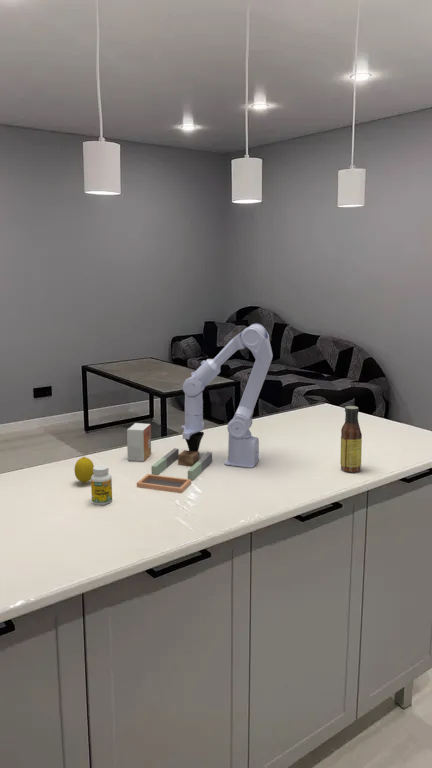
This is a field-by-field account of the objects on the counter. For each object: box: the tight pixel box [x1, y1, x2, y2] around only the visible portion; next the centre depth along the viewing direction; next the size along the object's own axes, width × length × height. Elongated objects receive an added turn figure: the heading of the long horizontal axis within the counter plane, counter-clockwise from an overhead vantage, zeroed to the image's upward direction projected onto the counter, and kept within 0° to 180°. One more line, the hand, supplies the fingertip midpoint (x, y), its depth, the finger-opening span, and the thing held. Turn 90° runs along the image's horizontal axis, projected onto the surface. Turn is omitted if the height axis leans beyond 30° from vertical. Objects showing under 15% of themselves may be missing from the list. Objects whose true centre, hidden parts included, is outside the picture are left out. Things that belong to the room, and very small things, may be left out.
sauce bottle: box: [340, 405, 363, 473], centre depth 184 cm, size 6×6×20 cm
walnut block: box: [177, 449, 200, 468], centre depth 191 cm, size 5×5×4 cm
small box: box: [126, 422, 152, 462], centre depth 195 cm, size 8×6×10 cm
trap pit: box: [136, 473, 192, 494], centre depth 172 cm, size 14×8×1 cm, turn 72°
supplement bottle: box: [90, 464, 113, 506], centre depth 160 cm, size 5×5×10 cm
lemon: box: [74, 456, 95, 484], centre depth 173 cm, size 6×6×8 cm
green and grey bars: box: [150, 448, 213, 482], centre depth 186 cm, size 13×18×3 cm
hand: (193, 454), depth 195 cm, fingers closed
